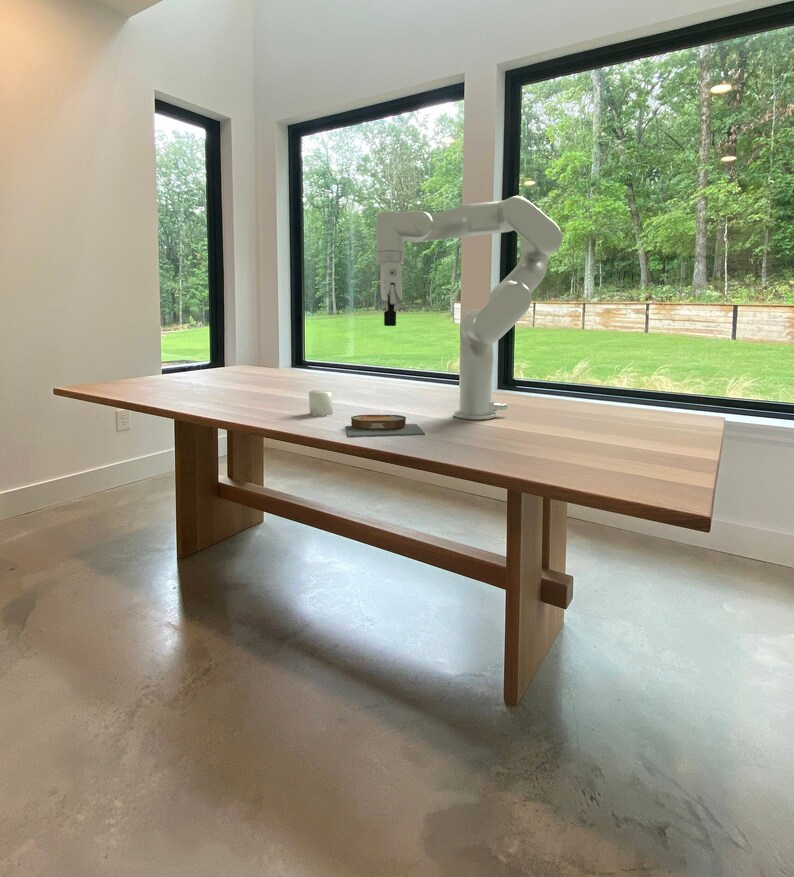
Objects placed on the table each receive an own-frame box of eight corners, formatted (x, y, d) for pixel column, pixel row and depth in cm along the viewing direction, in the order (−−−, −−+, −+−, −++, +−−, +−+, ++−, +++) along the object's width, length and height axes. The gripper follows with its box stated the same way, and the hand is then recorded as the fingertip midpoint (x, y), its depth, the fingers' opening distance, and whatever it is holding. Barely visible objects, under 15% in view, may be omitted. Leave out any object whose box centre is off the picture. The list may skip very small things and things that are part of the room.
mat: (416, 425, 166) (416, 423, 166) (424, 434, 154) (425, 433, 154) (345, 427, 163) (345, 425, 163) (348, 437, 151) (348, 435, 151)
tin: (406, 414, 165) (405, 418, 157) (406, 426, 166) (405, 430, 157) (352, 414, 166) (349, 417, 157) (352, 425, 166) (349, 429, 158)
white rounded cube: (332, 412, 185) (331, 389, 184) (333, 416, 179) (332, 393, 177) (309, 412, 184) (308, 390, 183) (309, 416, 178) (309, 393, 176)
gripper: (407, 257, 158) (407, 326, 162) (399, 260, 172) (398, 324, 176) (380, 256, 157) (380, 327, 161) (373, 260, 171) (374, 324, 175)
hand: (390, 325), depth 169 cm, fingers closed
